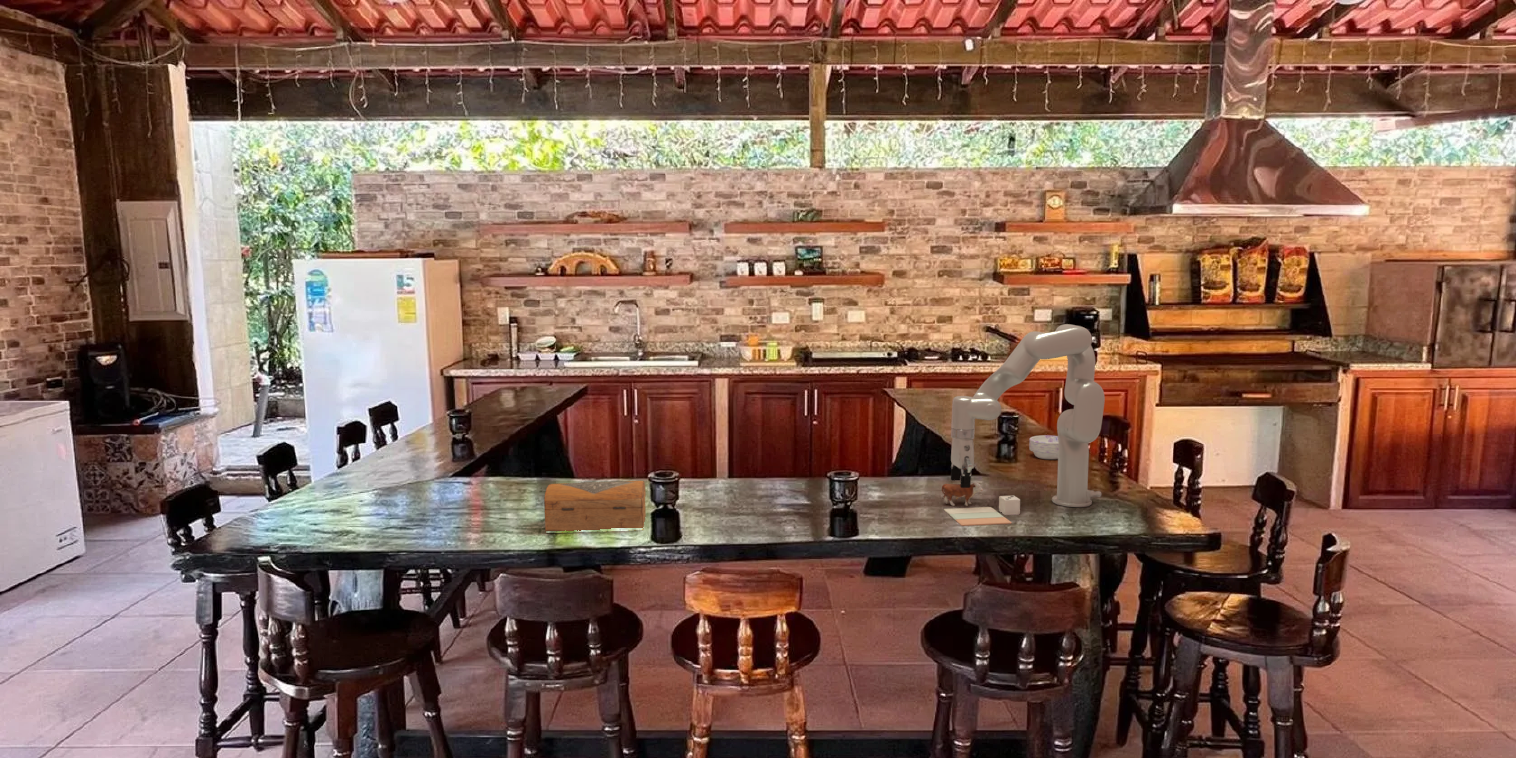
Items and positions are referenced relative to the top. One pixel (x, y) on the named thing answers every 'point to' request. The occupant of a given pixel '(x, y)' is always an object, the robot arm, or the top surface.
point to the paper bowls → (1044, 446)
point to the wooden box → (595, 505)
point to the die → (1009, 505)
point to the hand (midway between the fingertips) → (960, 483)
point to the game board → (977, 516)
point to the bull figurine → (960, 492)
